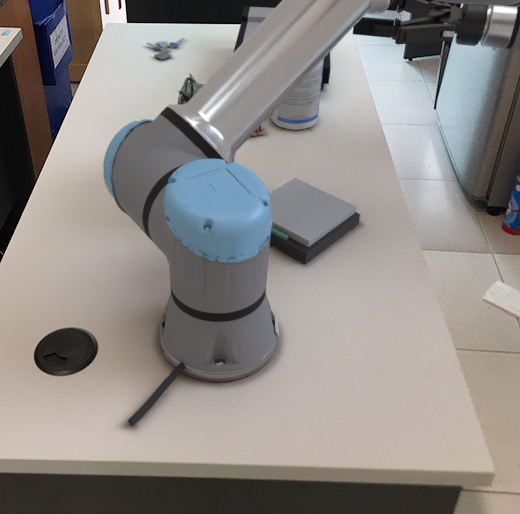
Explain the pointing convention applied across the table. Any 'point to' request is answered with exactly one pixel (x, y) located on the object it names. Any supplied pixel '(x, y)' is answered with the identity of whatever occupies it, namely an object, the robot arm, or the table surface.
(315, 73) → the supplement tub
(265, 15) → the game console
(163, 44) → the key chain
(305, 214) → the scale
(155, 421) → the table surface
